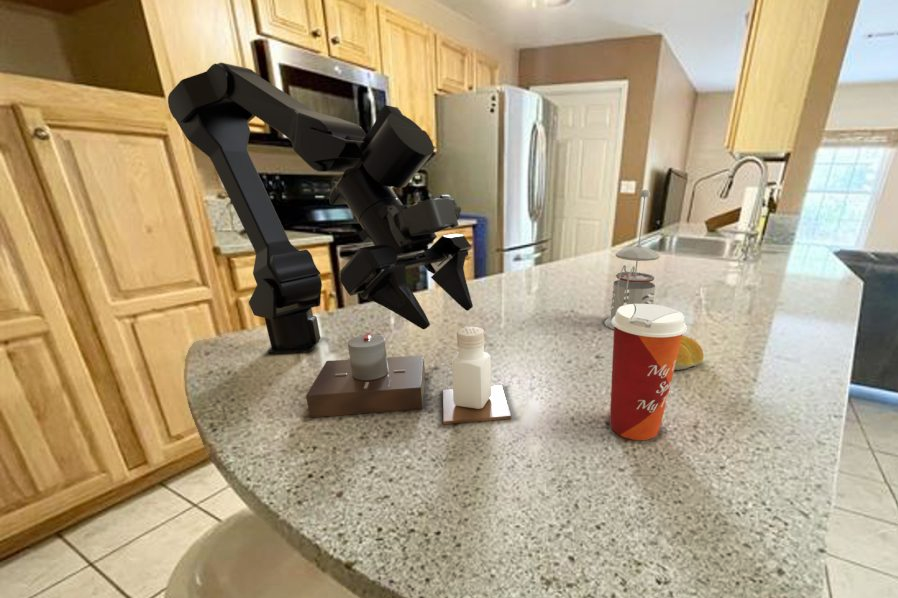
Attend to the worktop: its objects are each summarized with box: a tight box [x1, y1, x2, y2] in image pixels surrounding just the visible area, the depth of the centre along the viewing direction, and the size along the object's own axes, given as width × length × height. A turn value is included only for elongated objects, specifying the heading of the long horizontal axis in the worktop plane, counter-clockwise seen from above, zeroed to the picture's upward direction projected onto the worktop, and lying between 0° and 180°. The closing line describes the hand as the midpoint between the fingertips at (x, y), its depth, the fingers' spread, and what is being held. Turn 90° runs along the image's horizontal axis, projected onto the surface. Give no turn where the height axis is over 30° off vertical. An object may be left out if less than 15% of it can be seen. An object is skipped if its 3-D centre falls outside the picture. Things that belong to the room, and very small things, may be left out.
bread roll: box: [674, 335, 704, 371], centre depth 67 cm, size 8×9×4 cm
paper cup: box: [609, 303, 688, 441], centre depth 46 cm, size 8×8×14 cm
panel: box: [305, 354, 426, 419], centre depth 55 cm, size 13×10×3 cm
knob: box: [346, 332, 388, 380], centre depth 53 cm, size 4×4×5 cm
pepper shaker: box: [451, 326, 492, 409], centre depth 51 cm, size 4×4×10 cm
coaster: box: [442, 385, 512, 425], centre depth 53 cm, size 8×8×1 cm
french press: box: [604, 189, 661, 330], centre depth 78 cm, size 10×12×25 cm
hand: (450, 317), depth 53 cm, fingers open, 9 cm apart
